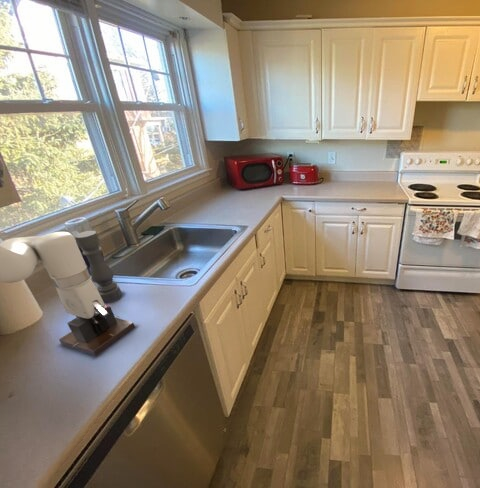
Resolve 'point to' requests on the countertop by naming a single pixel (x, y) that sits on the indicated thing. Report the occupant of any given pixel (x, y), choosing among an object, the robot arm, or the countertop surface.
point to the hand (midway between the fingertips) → (96, 328)
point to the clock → (89, 326)
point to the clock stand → (99, 338)
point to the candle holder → (98, 266)
